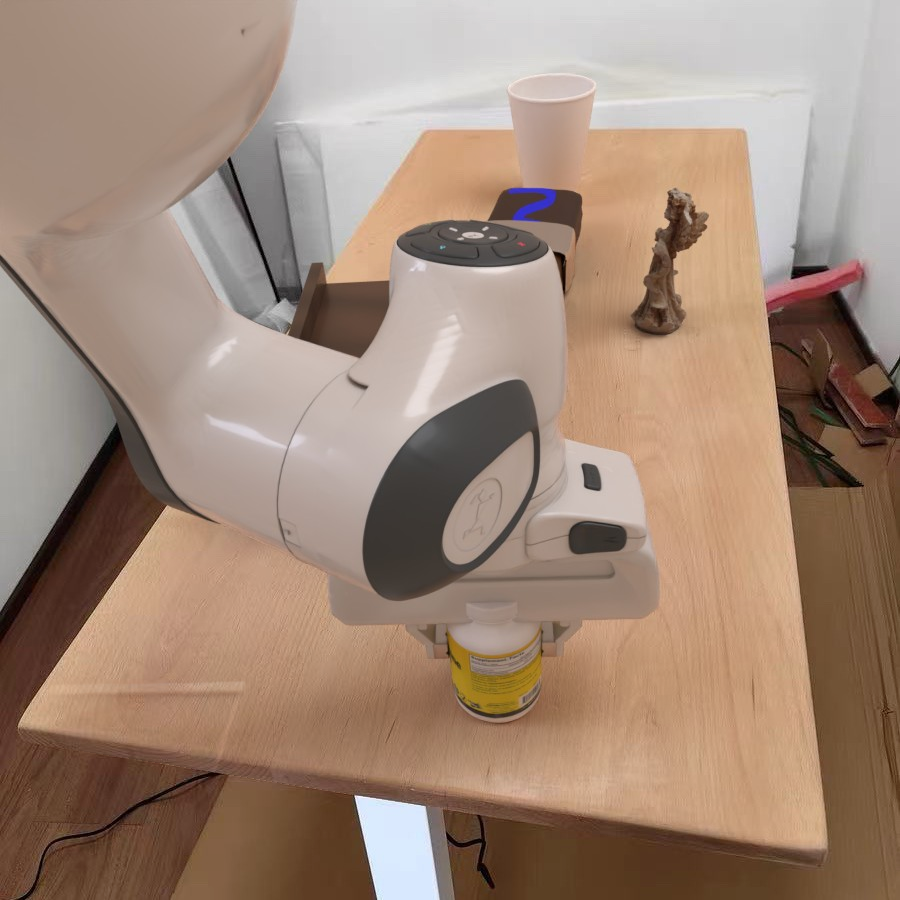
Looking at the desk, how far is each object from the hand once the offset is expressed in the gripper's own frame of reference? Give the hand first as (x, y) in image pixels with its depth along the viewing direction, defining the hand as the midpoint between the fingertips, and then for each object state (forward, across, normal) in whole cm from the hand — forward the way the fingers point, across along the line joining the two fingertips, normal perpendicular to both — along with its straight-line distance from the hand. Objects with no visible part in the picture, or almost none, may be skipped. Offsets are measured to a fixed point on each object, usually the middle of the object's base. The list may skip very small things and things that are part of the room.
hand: (495, 650), depth 58 cm
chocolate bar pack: (+4, +4, +58) cm, 58 cm away
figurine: (+4, +19, +48) cm, 52 cm away
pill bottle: (+4, 0, 0) cm, 4 cm away
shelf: (+4, -12, +30) cm, 33 cm away
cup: (+4, +9, +83) cm, 84 cm away
